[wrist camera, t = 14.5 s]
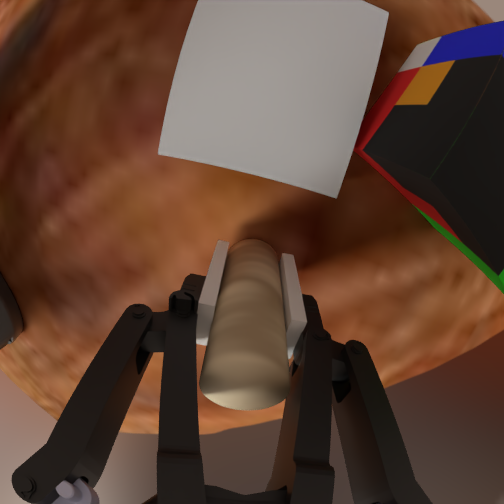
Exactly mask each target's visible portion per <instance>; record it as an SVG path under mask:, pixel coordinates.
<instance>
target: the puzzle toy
mask: <svg viewBox="0 0 504 504" xmlns="http://www.w3.org/2000/svg"><path fill="white" fill-rule="evenodd" d="M353 151H354V152H356V153H357V154H358V155H359V156H360V157H362V158H363V159H364V160H365V161H366V162H367V163H369V164H370V165H371V166H372V167H373V168H374V169H375V170H377V171H378V172H379V173H380V174H381V175H382V176H383V177H384V178H385V179H387V180H388V181H389V182H390V183H391V184H392V185H393V186H394V187H395V188H396V189H397V190H398V191H399V192H400V193H401V194H402V195H403V196H404V197H405V198H406V199H407V200H408V201H409V202H410V203H411V204H412V205H413V206H414V207H415V208H416V209H417V210H418V211H419V212H420V213H421V214H422V215H423V216H424V217H425V218H426V219H427V221H428V222H429V223H430V224H431V225H432V226H433V227H434V228H435V229H436V230H437V231H438V232H440V233H441V234H442V235H443V236H444V237H445V238H447V239H448V240H449V241H450V242H451V243H452V244H453V245H455V246H456V247H457V248H458V249H459V250H460V251H461V252H462V253H463V254H465V255H466V256H467V257H468V258H469V259H470V260H471V261H472V262H473V263H474V264H475V265H476V266H477V267H478V268H479V269H480V270H481V271H482V272H483V273H484V274H485V275H486V276H487V277H488V278H489V279H490V280H491V281H492V282H493V283H494V284H495V285H496V286H497V287H498V288H499V289H500V290H501V291H502V293H503V294H504V21H499V22H494V23H489V24H485V25H480V26H476V27H472V28H468V29H464V30H461V31H457V32H454V33H450V34H447V35H444V36H441V37H438V38H435V39H432V40H429V41H426V42H423V43H420V44H418V45H417V46H416V47H415V48H414V50H413V51H412V53H411V54H410V55H409V57H408V58H407V60H406V61H405V63H404V64H403V65H402V67H401V68H400V70H399V71H398V72H397V74H396V75H395V76H394V78H393V79H392V81H391V82H390V83H389V85H388V86H387V88H386V89H385V90H384V92H383V93H382V95H381V96H380V97H379V99H378V100H377V101H376V103H375V104H374V106H373V107H372V108H371V110H370V111H369V112H368V114H367V115H366V117H365V118H364V119H363V121H362V123H361V126H360V130H359V133H358V136H357V139H356V142H355V146H354V149H353Z"/></svg>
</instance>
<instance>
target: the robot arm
mask: <svg viewBox="0 0 504 504" xmlns="http://www.w3.org/2000/svg"><path fill="white" fill-rule="evenodd" d="M228 247H229V242H227V241H222V240H218V242H217V245H216V248H215V251H214V254H213V257H212V260H211V263H210V267H209V270H208V273H207V276H201V275H196V274H190V275H188V276H187V277H186V278H185V280H184V282H183V285H182V287H181V289H180V290H178V291H175V292H173V293H172V294H171V295H170V297H169V310H168V311H164V312H152V310H151V309H150V308H149V307H148V306H146V305H144V304H133V305H131V306H129V307H128V308H127V309H126V310H125V311H124V313H123V314H122V316H121V317H120V319H119V320H118V322H117V323H116V325H115V326H114V328H113V329H112V331H111V332H110V334H109V335H108V337H107V338H106V340H105V342H104V343H103V345H102V346H101V348H100V349H99V351H98V353H97V354H96V356H95V357H94V359H93V361H92V362H91V364H90V365H89V367H88V369H87V370H86V372H85V374H84V375H83V377H82V379H81V380H80V382H79V384H78V386H77V387H76V389H75V391H74V392H73V394H72V396H71V398H70V400H69V401H68V403H67V405H66V407H65V409H64V410H63V412H62V414H61V416H60V418H59V420H58V422H57V423H56V425H55V427H54V429H53V431H52V433H51V435H50V437H49V439H48V441H47V443H46V444H45V445H44V446H43V447H42V448H41V449H39V450H38V451H37V452H36V453H35V454H34V455H32V456H31V457H30V458H29V459H28V460H27V461H25V462H24V463H23V464H22V465H21V466H20V467H18V468H17V469H16V470H15V472H14V473H13V475H12V485H13V488H14V490H15V491H16V493H17V494H18V495H19V496H20V497H21V498H22V499H23V500H25V501H27V502H29V503H31V504H99V498H98V495H97V493H96V492H95V491H94V490H93V488H94V487H95V485H96V484H97V482H98V480H99V479H100V477H101V475H102V472H103V470H104V468H105V465H106V463H107V460H108V457H109V455H110V452H111V450H112V447H113V445H114V442H115V440H116V437H117V435H118V432H119V430H120V427H121V425H122V423H123V420H124V418H125V416H126V413H127V411H128V408H129V406H130V404H131V402H132V399H133V397H134V395H135V392H136V390H137V388H138V386H139V383H140V381H141V379H142V377H143V374H144V372H145V370H146V368H147V366H148V363H149V361H150V359H151V357H152V355H153V352H164V357H163V368H162V380H161V394H160V412H159V442H158V452H157V494H156V495H154V496H153V497H151V498H150V499H148V500H147V501H145V502H144V503H142V504H332V499H333V489H334V478H335V475H334V474H335V471H334V468H333V467H332V466H330V464H329V454H330V438H331V437H330V436H331V415H332V407H333V411H334V415H335V419H336V423H337V427H338V432H339V436H340V440H341V445H342V449H343V454H344V458H345V463H346V468H347V472H348V477H349V481H350V486H351V491H352V496H353V500H354V503H355V504H432V502H431V501H430V500H429V498H428V497H427V496H426V494H425V493H424V491H423V490H422V489H421V487H420V486H419V484H418V483H417V482H416V480H415V477H414V474H413V470H412V467H411V464H410V461H409V457H408V454H407V451H406V448H405V446H404V442H403V439H402V436H401V434H400V431H399V428H398V425H397V422H396V419H395V417H394V414H393V412H392V409H391V406H390V403H389V401H388V398H387V395H386V393H385V390H384V388H383V385H382V383H381V380H380V378H379V375H378V373H377V371H376V368H375V366H374V363H373V361H372V359H371V356H370V354H369V352H368V349H367V348H366V346H365V345H364V344H363V343H361V342H359V341H356V340H349V341H348V342H347V343H346V344H345V345H344V344H341V343H338V342H336V341H333V340H332V339H331V335H330V334H329V333H328V332H327V331H326V330H325V329H324V328H323V324H322V320H321V316H320V313H319V309H318V305H317V301H316V300H315V299H314V298H313V296H311V295H305V294H302V293H301V288H300V284H299V279H298V274H297V269H296V265H295V260H294V255H291V254H286V253H282V256H281V259H280V263H279V270H280V279H281V288H282V298H283V308H284V318H285V328H286V338H287V349H288V359H290V358H291V356H292V353H293V354H294V360H293V362H292V363H291V365H290V367H289V372H290V384H291V389H290V393H289V395H288V396H287V397H286V401H285V407H284V413H283V419H282V425H281V431H280V436H279V442H278V447H277V452H276V457H275V462H274V467H273V471H272V476H271V479H270V480H269V482H268V484H267V487H266V490H265V492H262V493H256V494H250V495H242V494H238V493H235V492H232V491H229V490H226V489H223V488H220V487H217V486H209V485H204V476H203V464H202V456H201V453H200V442H199V425H198V403H197V368H196V343H197V344H201V345H206V346H207V341H208V337H209V332H210V327H211V324H212V322H213V317H214V312H215V307H216V303H217V298H218V293H219V289H220V284H221V280H222V275H223V271H224V266H225V262H226V257H227V253H228ZM22 330H23V321H22V317H21V313H20V310H19V308H18V305H17V303H16V301H15V299H14V297H13V295H12V293H11V291H10V289H9V287H8V285H7V284H6V282H5V280H4V279H3V277H2V276H1V274H0V349H2V348H3V347H4V346H6V345H7V344H11V343H12V342H14V341H15V340H16V338H17V337H18V336H19V335H20V333H21V332H22Z"/></svg>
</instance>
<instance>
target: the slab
mask: <svg viewBox="0 0 504 504" xmlns="http://www.w3.org/2000/svg"><path fill="white" fill-rule="evenodd" d="M388 15H389V12H387V11H384V10H382V9H380V8H378V7H376V6H374V5H372V4H369V3H367V2H365V1H362V0H198V2H197V5H196V8H195V10H194V13H193V16H192V19H191V22H190V25H189V28H188V31H187V34H186V37H185V40H184V43H183V47H182V50H181V53H180V57H179V60H178V64H177V67H176V71H175V75H174V79H173V83H172V87H171V91H170V95H169V99H168V104H167V108H166V113H165V118H164V123H163V128H162V133H161V139H160V144H159V150H158V154H159V155H165V156H170V157H175V158H181V159H186V160H191V161H196V162H201V163H205V164H210V165H215V166H219V167H223V168H228V169H232V170H236V171H241V172H245V173H249V174H253V175H257V176H261V177H264V178H268V179H272V180H276V181H279V182H283V183H287V184H290V185H294V186H297V187H301V188H304V189H307V190H311V191H314V192H317V193H321V194H324V195H327V196H330V197H333V198H336V199H337V196H338V193H339V190H340V187H341V185H342V182H343V179H344V176H345V173H346V170H347V167H348V164H349V161H350V158H351V155H352V152H353V149H354V146H355V142H356V139H357V136H358V133H359V130H360V126H361V123H362V120H363V116H364V113H365V109H366V106H367V102H368V99H369V95H370V92H371V88H372V84H373V80H374V77H375V73H376V69H377V65H378V61H379V56H380V52H381V48H382V44H383V39H384V35H385V30H386V25H387V20H388Z"/></svg>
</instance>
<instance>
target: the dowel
mask: <svg viewBox="0 0 504 504" xmlns="http://www.w3.org/2000/svg"><path fill="white" fill-rule="evenodd" d="M199 386H200V389H201V391H202V393H203V394H204V395H205V396H206V397H207V398H208V399H210V400H211V401H213V402H215V403H216V404H219V405H221V406H224V407H227V408H231V409H237V410H259V409H265V408H269V407H272V406H274V405H276V404H278V403H280V402H282V401H283V400H284V399H285V398H286V397H287V396H288V395H289V393H290V389H291V384H290V372H289V360H288V349H287V338H286V328H285V318H284V308H283V298H282V288H281V279H280V270H279V261H278V256H277V254H276V252H275V250H274V249H273V248H272V247H271V246H270V245H269V244H267V243H266V242H264V241H261V240H257V239H246V240H242V241H240V242H238V243H236V244H234V245H233V246H232V247H231V248H230V249H229V251H228V253H227V257H226V262H225V266H224V271H223V275H222V280H221V284H220V289H219V293H218V298H217V303H216V307H215V312H214V317H213V322H212V324H211V327H210V332H209V337H208V341H207V346H206V351H205V356H204V361H203V366H202V371H201V376H200V381H199Z"/></svg>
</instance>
